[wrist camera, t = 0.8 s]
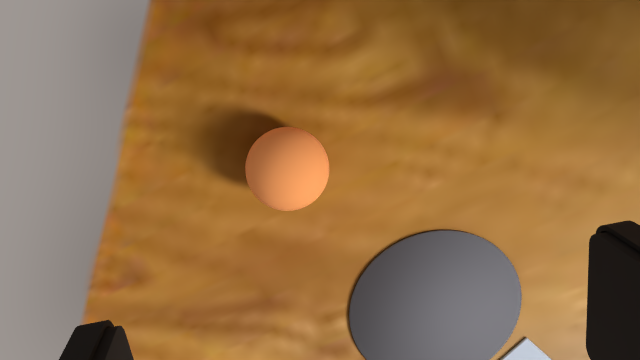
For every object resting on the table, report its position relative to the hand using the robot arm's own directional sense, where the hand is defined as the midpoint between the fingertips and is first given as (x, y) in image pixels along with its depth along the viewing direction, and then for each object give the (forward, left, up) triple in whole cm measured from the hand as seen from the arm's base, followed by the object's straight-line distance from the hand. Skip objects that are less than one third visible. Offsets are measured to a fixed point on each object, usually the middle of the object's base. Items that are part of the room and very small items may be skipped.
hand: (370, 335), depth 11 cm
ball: (+4, +2, -25) cm, 25 cm away
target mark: (+6, +20, -28) cm, 34 cm away
